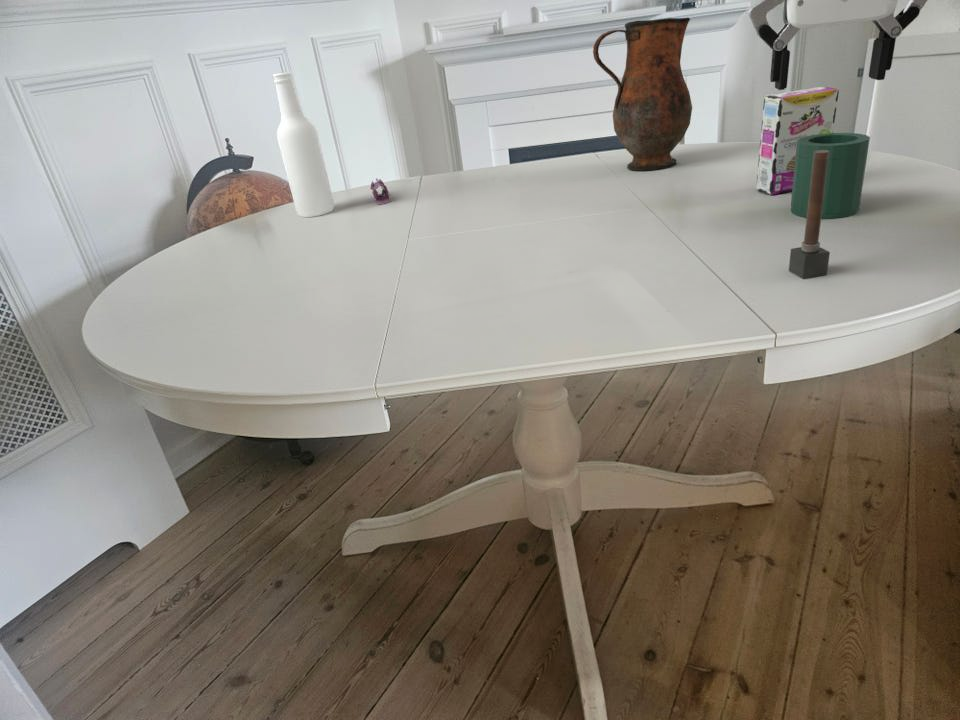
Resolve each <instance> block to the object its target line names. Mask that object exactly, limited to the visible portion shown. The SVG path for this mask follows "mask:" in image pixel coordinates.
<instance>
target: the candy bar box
mask: <svg viewBox="0 0 960 720" xmlns="http://www.w3.org/2000/svg"><path fill="white" fill-rule="evenodd" d="M839 93H840V88H836V87H829V86H828V87H827V86H818V87H811V88H805V89H804V88H803V89H797V90H791V91H786V92H779V93H771V94H766V95H764V97H763V108H762V119H761V130H760V142H759V153H758V162H757V163H758V164H757V175H756V184H755V185H756V187H755V190H756V191H758V192H760V193H764V194H766V195H769V196H773V195H778V194H784V193H790V192H792V188H793V178H794V168H795V158H796V148H797V141H798V140H799V139H800V138H804V137H807V136H812V135H818V134H828V133H834V129H835V128H834V127H835V121H836V113H837V106H838V99H839Z"/></svg>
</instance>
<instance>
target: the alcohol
mask: <svg viewBox="0 0 960 720" xmlns="http://www.w3.org/2000/svg"><path fill="white" fill-rule="evenodd" d="M292 75H293V73H292V72H291V71H284V72H278V73H273V75H272V78H273V83H274V84H275V90H276V96H277V101H278V106H279V112H280V123H279V125H278V127H277V130H276V140H277V143H278V147H279V151H280V156H281V158H282V162H283V166H284V169H285V173H286V178H287V181H288V184H289V190H290V192H291V196H292V200H293V204H294V207H295V211H296V214H297V215H298V216H299V217H301V218H312V217H313V218H314V217H319V216H324V215H327V214H329V213H332V212H333V211H334V209H335V202H334V201H335V200H334V198H333V194H332V193H333V192H332V188H331V184H330V180H329V176H328V172H327V167H326V164H325V159H324V155H323V150H322V146H321V142H320V138H319V134H318V130H317V128H316V127H315V124H313V122H312V121H310V120H309V119H308V118H307V117H306V116H305V114H304V112H303V108H302V106H301V102H300V100H299V95H298V93H297V90H296V86H295V83H294V78H293V76H292Z"/></svg>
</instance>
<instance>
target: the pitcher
mask: <svg viewBox="0 0 960 720" xmlns="http://www.w3.org/2000/svg"><path fill="white" fill-rule="evenodd" d="M690 21H691V18H689V17H667V18H658V19H651V20H650V19H648V20H634V21H628V22H626V23H625V24H624V27H625V29H613V30H609V31H605V32H603V33H601V34H600V35H599V37H598V38H596V40H595V42H594V44H593V48H592V49H593V50H592V53H593V59H594V61H595V62H596V65H598V66H599V67H600V68H601V69H602V70H603V71H604V72H605V73H606V74H607V75H609V77H611V78H612V79H613V81H614V82H615V83H616V85H617V94H616V97H615V100H614V105H613V110H612V122H613V131H614V133H615V135H616V137H617V138H618V140H619V143H620V145H622V146H623V148H624V149H625V150H626V151H627V152H628V153H629V154H630V155H631V156H632V160H631V162H629V163H628V164H627V165H626V168H627V169H628V170H630V171H633V172H648V171H650V172H651V171H658V170H664V169H668V168H672V167H674V166H676V165H677V162H678V161H677V159H676V158H674V157H672V155H671V153H672V151H673V150H674V149H675V148H676V147H677V146H678V145H679V143H680V142H681V141H682V140H683V139H684V136H685V134H686V133H687V131H688V129H689V127H690V126H691V125H690V124H691V120H692V112H693V103H692V100H691V98H692V97H691V94H690V90H689V88H688V85H687V83H686V80H685V78H684V75H683V71H682V66H681V65H682V64H681V58H682V51H683V50H682V49H683V44H684V38H685V34H686V30H687V27H688V26H689V22H690ZM615 33H624V36H625V41H626V58H625V67H624V71H623V75H622V78H621V80H620V78H619V77H618V76H617V75H616V74H615V73H614V72H613V71H612V70H611V69H610V68H609V67H608V66H607V65H605V63H604V62H603V61H602V60H601V57H600V53H599V49H600V48H599V47H600V45H601V42H602V41H603V40H604V39H605V38H606V37H608V36H610V35H612V34H615Z"/></svg>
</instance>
